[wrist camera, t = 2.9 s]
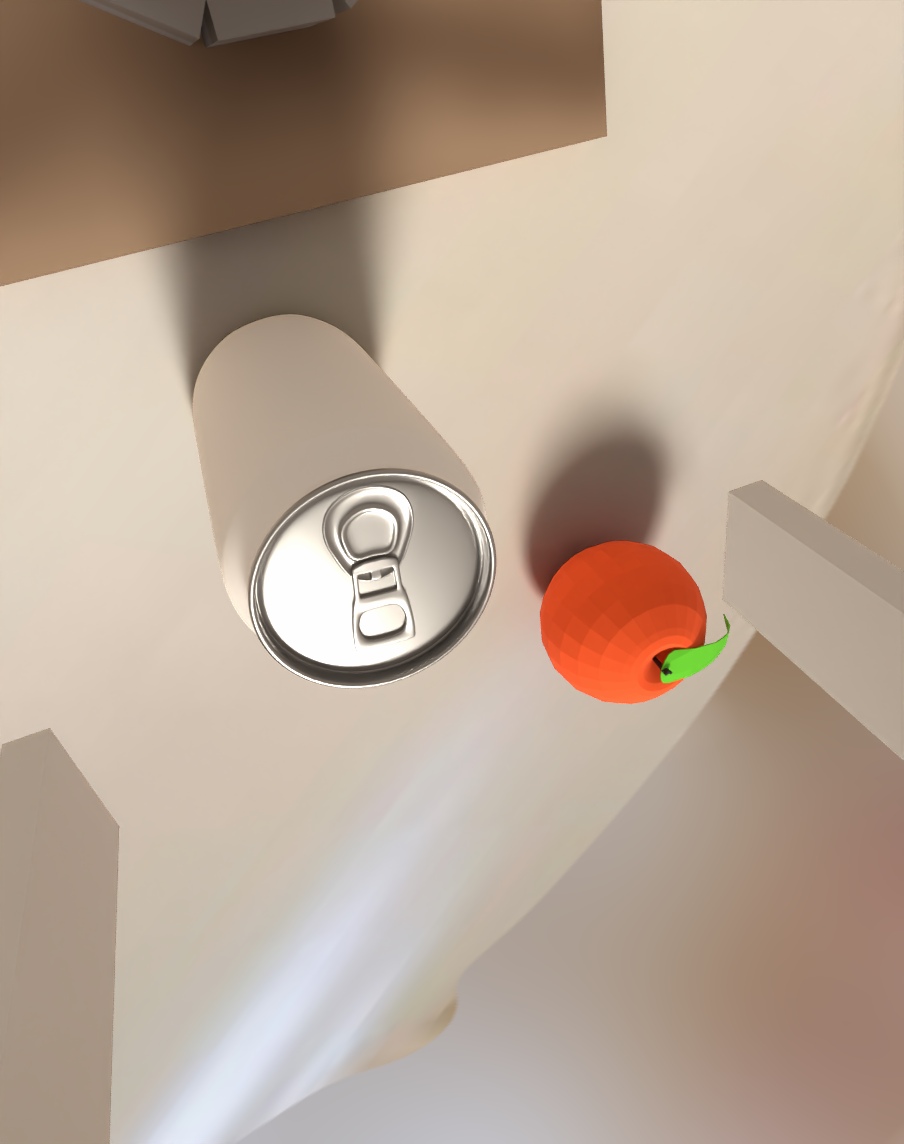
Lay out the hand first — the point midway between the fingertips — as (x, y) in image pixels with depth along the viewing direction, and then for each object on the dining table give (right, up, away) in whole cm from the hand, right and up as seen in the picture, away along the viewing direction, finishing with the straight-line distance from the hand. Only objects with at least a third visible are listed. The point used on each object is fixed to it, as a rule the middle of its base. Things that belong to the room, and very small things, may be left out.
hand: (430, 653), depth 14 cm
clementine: (+7, +1, +21) cm, 22 cm away
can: (-5, +7, +12) cm, 15 cm away
